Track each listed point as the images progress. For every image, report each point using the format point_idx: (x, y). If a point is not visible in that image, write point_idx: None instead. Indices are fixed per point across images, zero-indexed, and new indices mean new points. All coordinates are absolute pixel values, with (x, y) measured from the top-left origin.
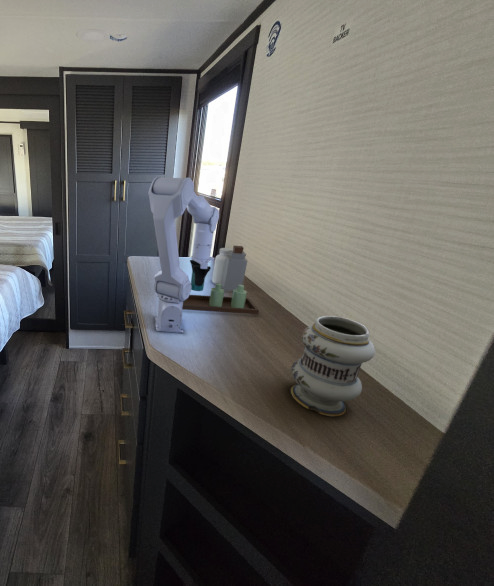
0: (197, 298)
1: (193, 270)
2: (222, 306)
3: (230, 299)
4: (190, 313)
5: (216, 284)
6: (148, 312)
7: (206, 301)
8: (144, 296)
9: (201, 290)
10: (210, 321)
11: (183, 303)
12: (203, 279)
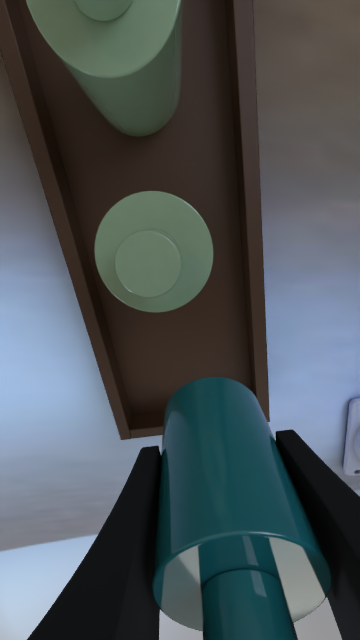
0: (109, 341)
1: (155, 623)
2: None
3: (45, 125)
4: (274, 360)
5: (165, 290)
6: None
7: None
8: None
9: (248, 390)
10: (354, 273)
11: None
12: (346, 490)
